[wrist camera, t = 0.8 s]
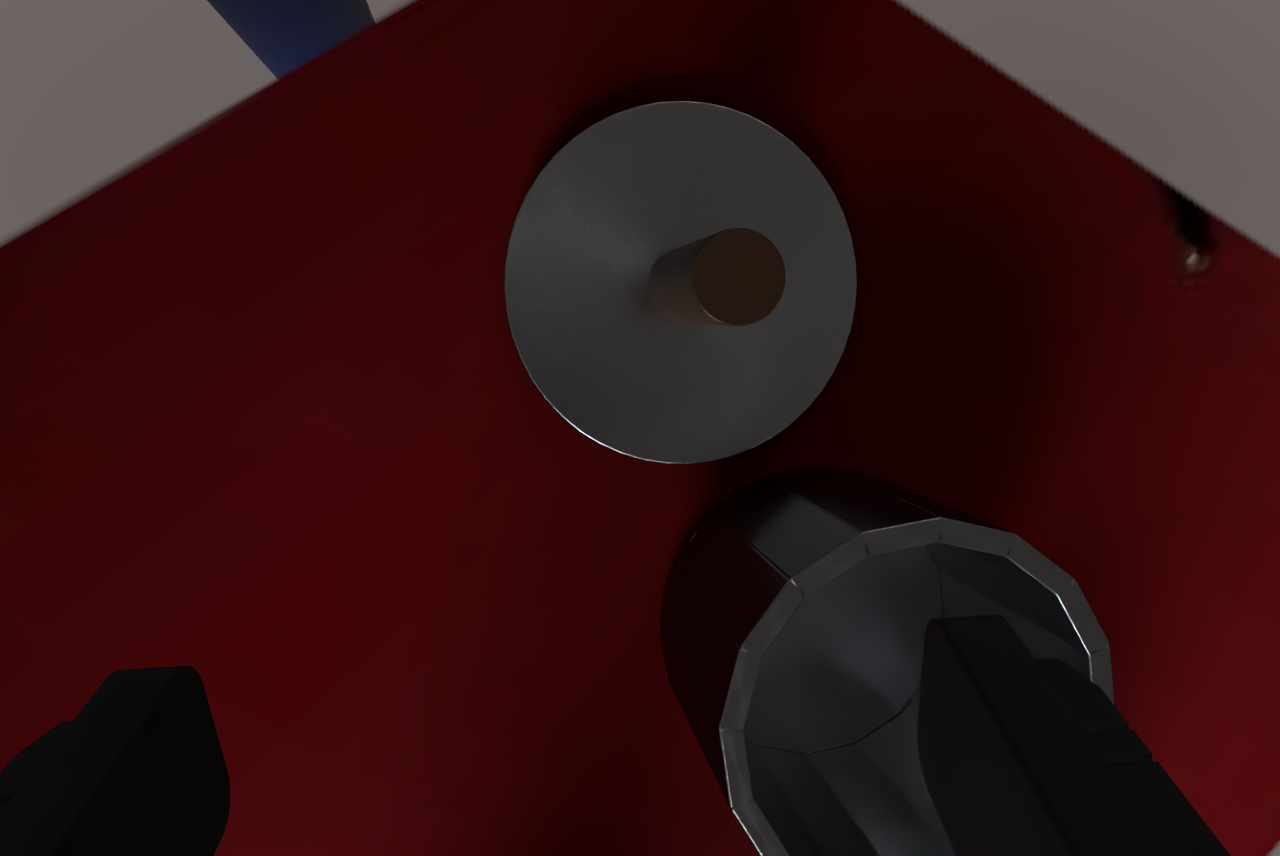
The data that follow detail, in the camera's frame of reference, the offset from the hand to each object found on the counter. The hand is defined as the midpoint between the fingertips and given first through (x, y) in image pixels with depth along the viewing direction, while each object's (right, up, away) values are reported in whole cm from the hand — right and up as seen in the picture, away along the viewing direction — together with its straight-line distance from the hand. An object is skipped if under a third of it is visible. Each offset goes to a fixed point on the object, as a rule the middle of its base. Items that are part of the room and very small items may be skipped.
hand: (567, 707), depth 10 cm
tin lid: (+2, +8, +22) cm, 23 cm away
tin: (+7, -4, +25) cm, 26 cm away
